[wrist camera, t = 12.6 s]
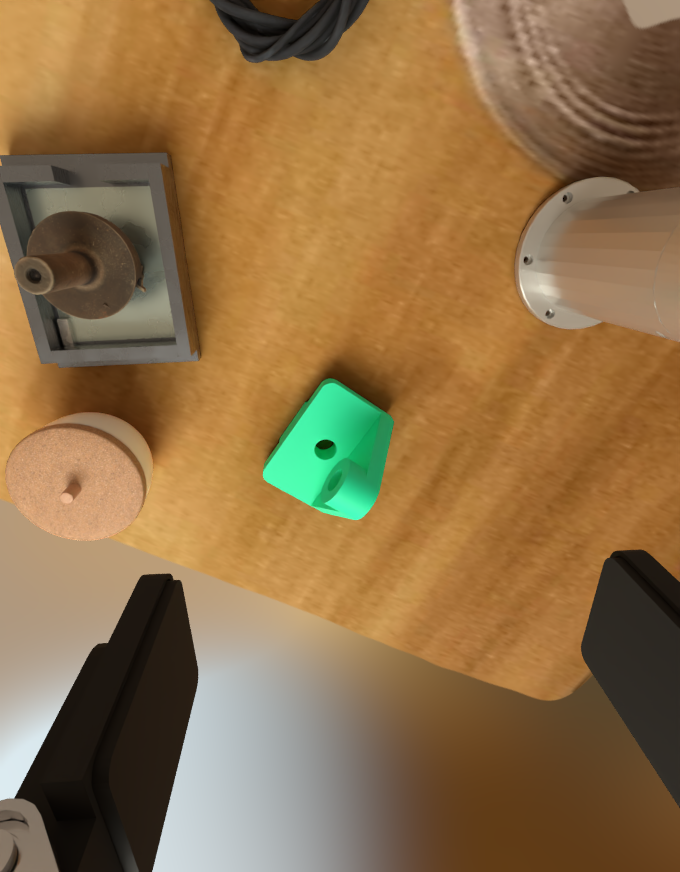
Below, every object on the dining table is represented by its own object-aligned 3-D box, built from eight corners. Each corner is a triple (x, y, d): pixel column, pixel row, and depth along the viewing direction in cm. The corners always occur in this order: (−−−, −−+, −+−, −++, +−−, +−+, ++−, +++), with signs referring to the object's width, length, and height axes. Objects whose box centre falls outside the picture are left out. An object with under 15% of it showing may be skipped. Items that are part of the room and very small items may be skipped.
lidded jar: (183, 425, 45) (157, 470, 36) (145, 510, 48) (112, 570, 39) (69, 376, 42) (11, 412, 33) (37, 471, 45) (-23, 525, 36)
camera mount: (326, 370, 44) (335, 407, 35) (388, 412, 46) (413, 456, 37) (260, 465, 47) (252, 521, 38) (321, 499, 50) (328, 560, 40)
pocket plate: (170, 155, 36) (157, 146, 32) (201, 357, 42) (193, 368, 39) (8, 157, 35) (-22, 149, 31) (65, 364, 41) (44, 375, 38)
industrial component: (40, 264, 37) (-67, 276, 26) (88, 189, 35) (-5, 167, 24) (143, 341, 40) (87, 381, 29) (192, 275, 38) (152, 291, 27)
